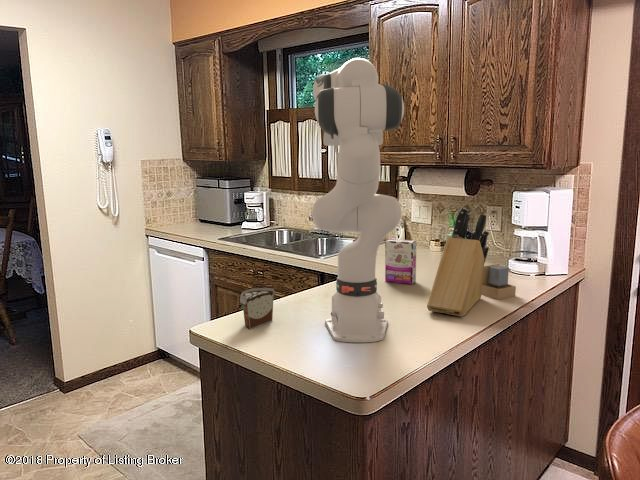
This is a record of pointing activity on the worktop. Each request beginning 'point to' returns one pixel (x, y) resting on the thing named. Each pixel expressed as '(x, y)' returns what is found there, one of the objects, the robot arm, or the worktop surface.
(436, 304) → the knife block
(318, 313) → the worktop surface
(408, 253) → the candy bar box
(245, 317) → the food container
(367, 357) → the worktop surface
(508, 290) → the carton
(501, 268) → the tea tin
